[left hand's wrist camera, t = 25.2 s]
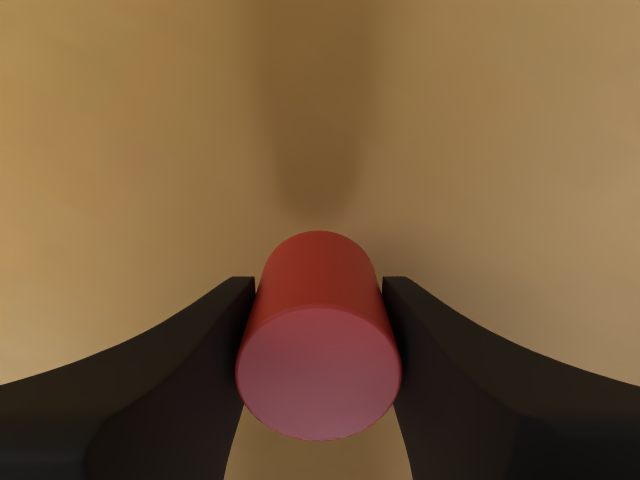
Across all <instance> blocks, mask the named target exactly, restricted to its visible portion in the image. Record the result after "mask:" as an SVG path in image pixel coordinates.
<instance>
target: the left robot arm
mask: <svg viewBox="0 0 640 480" xmlns="http://www.w3.org/2000/svg"><path fill="white" fill-rule="evenodd" d="M255 296H256V292H255V277H231V278H229V279H227V280H226V281H224V282H223V283H221V284H220V285H218V286H217V287H215V288H214V289H213V290H211V291H210V292H208V293H207V294H206V295H204V296H203V297H201V298H200V299H198V300H197V301H195V302H194V303H192V304H191V305H190V306H188V307H186V308H185V309H183V310H181V311H180V312H178V313H177V314H175V315H173V316H172V317H170V318H169V319H167V320H165V321H164V322H162V323H160V324H158V325H157V326H155V327H153V328H151V329H149V330H147V331H146V332H144V333H142V334H139V335H137V336H135V337H133V338H131V339H129V340H127V341H125V342H123V343H121V344H119V345H116V346H114V347H111V348H109V349H106V350H104V351H101V352H99V353H96V354H94V355H91V356H89V357H86V358H84V359H82V360H79V361H76V362H74V363H71V364H68V365H65V366H62V367H59V368H56V369H53V370H50V371H47V372H44V373H41V374H37V375H34V376H31V377H28V378H24V379H21V380H17V381H14V382H10V383H7V384H3V385H0V480H224V475H225V470H226V465H227V461H228V457H229V453H230V449H231V445H232V442H233V439H234V435H235V432H236V429H237V426H238V422H239V419H240V416H241V413H242V409H243V406H244V402H243V400H242V398H241V396H240V394H239V391H238V388H237V385H236V380H235V361H236V356H237V353H238V349H239V346H240V343H241V340H242V337H243V334H244V330H245V327H246V324H247V321H248V318H249V315H250V311H251V308H252V305H253V302H254V299H255ZM382 298H383V301H384V304H385V308H386V311H387V314H388V317H389V321H390V324H391V327H392V330H393V334H394V337H395V340H396V343H397V347H398V350H399V353H400V356H401V361H402V380H401V385H400V388H399V391H398V394H397V396H396V398H395V400H394V402H393V406H394V409H395V412H396V416H397V419H398V422H399V426H400V429H401V433H402V436H403V439H404V443H405V446H406V450H407V454H408V458H409V462H410V466H411V472H412V477H413V480H640V386H636V385H632V384H628V383H624V382H621V381H618V380H614V379H611V378H608V377H605V376H601V375H598V374H595V373H592V372H588V371H585V370H582V369H579V368H576V367H573V366H571V365H568V364H565V363H562V362H559V361H557V360H554V359H552V358H549V357H547V356H544V355H541V354H539V353H536V352H534V351H531V350H529V349H527V348H524V347H522V346H520V345H518V344H515V343H513V342H511V341H509V340H507V339H505V338H503V337H501V336H499V335H497V334H495V333H493V332H491V331H489V330H487V329H485V328H483V327H482V326H480V325H478V324H476V323H475V322H473V321H471V320H470V319H468V318H466V317H465V316H463V315H461V314H460V313H458V312H457V311H455V310H453V309H452V308H450V307H449V306H447V305H446V304H444V303H443V302H442V301H440V300H439V299H437V298H436V297H434V296H433V295H432V294H430V293H429V292H427V291H426V290H425V289H423V288H422V287H420V286H419V285H418V284H416V283H415V282H413V281H412V280H410V279H409V278H407V277H383V283H382Z"/></svg>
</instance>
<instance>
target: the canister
mask: <svg viewBox="0 0 640 480" xmlns="http://www.w3.org/2000/svg"><path fill="white" fill-rule="evenodd" d="M235 380H236V385H237V388H238V391H239V394H240V396H241V398H242V400H243V402H244V404H245V405H246V407H247V408H248V410H249V411H250V412H251V413H252V414H253V415H254V416H255V417H256V418H257V419H258V420H259V421H260V422H261V423H263V424H264V425H266V426H267V427H269V428H270V429H272V430H274V431H276V432H278V433H281V434H283V435H286V436H289V437H293V438H296V439H302V440H309V441H328V440H335V439H340V438H344V437H348V436H351V435H354V434H356V433H359V432H361V431H363V430H365V429H366V428H368V427H370V426H371V425H373V424H374V423H375V422H377V421H378V420H379V419H380V418H381V417H382V416H383V415H384V414H385V413H386V412H387V411H388V409H389V408H390V407H391V405H392V404H393V402H394V400H395V398H396V396H397V394H398V391H399V388H400V385H401V380H402V361H401V356H400V353H399V350H398V347H397V343H396V340H395V337H394V334H393V330H392V327H391V324H390V321H389V317H388V314H387V311H386V308H385V304H384V301H383V298H382V295H381V291H380V288H379V285H378V282H377V278H376V275H375V272H374V269H373V265H372V263H371V261H370V259H369V257H368V256H367V254H366V253H365V252H364V251H363V249H362V248H361V247H360V246H358V245H357V244H356V243H355V242H353V241H352V240H350V239H349V238H347V237H345V236H343V235H340V234H337V233H333V232H328V231H310V232H304V233H301V234H298V235H295V236H293V237H291V238H289V239H287V240H286V241H284V242H283V243H281V244H280V245H279V246H278V247H277V248H276V249H275V250H274V251H273V252H272V254H271V255H270V257H269V258H268V260H267V262H266V264H265V267H264V270H263V273H262V277H261V280H260V283H259V286H258V289H257V292H256V296H255V299H254V302H253V305H252V308H251V311H250V315H249V318H248V321H247V324H246V327H245V330H244V334H243V337H242V340H241V343H240V346H239V349H238V353H237V356H236V361H235Z"/></svg>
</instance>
